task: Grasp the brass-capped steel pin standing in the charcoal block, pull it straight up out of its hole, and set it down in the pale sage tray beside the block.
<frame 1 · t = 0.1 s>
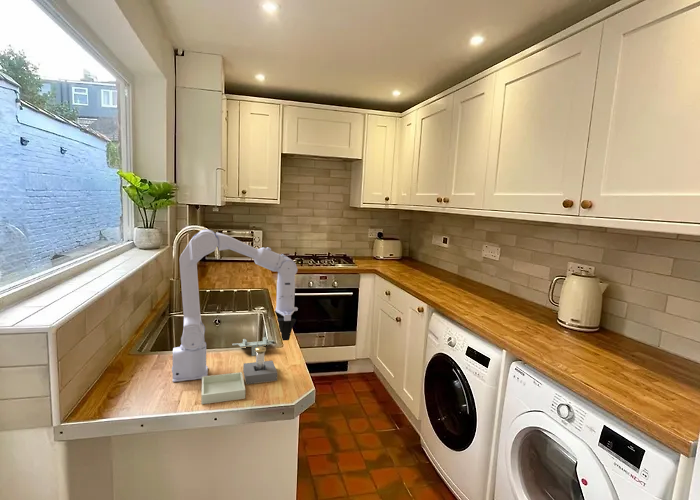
hand: (284, 335, 121), 10 cm above the counter, tool pointing down, fingers open, 7 cm apart
tray: (222, 391, 104), on the counter
pin block: (259, 375, 114), on the counter
steel pin: (260, 362, 114), in the pin block
metal bracket: (254, 350, 135), on the counter
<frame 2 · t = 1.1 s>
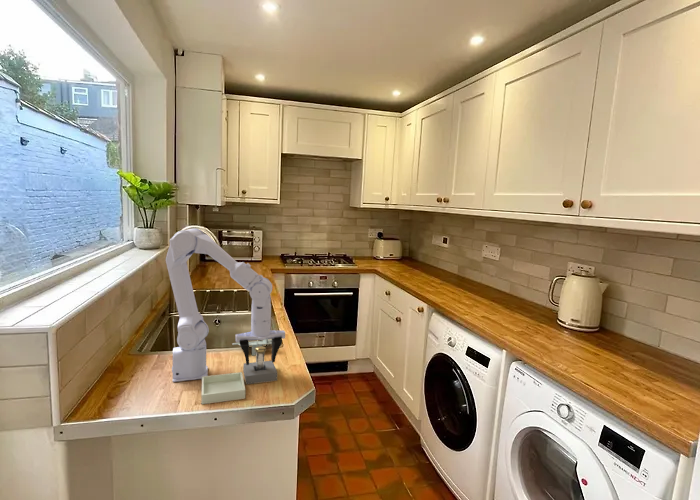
hand: (260, 362, 114), 4 cm above the counter, tool pointing down, fingers open, 7 cm apart
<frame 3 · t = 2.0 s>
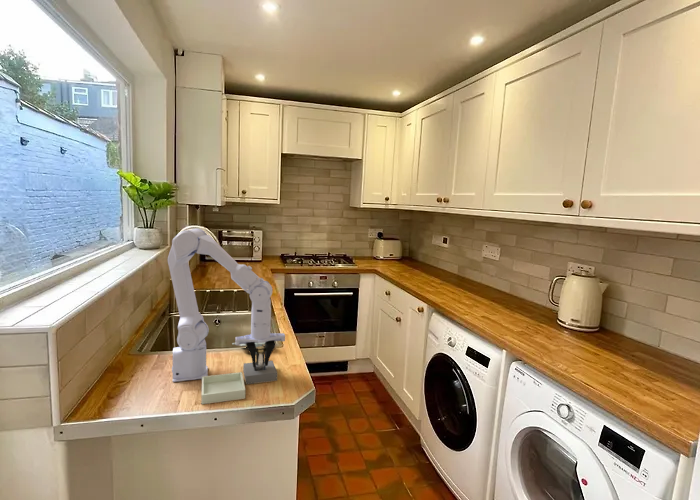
hand: (260, 365, 114), 3 cm above the counter, tool pointing down, fingers closed on steel pin, 3 cm apart
steel pin: (260, 362, 114), in the pin block, touching gripper
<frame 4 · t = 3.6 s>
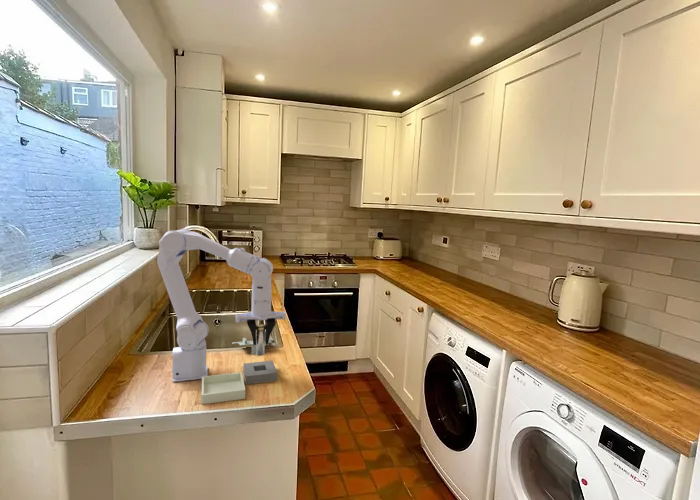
hand: (260, 343, 113), 10 cm above the counter, tool pointing down, fingers closed on steel pin, 3 cm apart
steel pin: (260, 340, 113), point 11 cm above the counter, touching gripper
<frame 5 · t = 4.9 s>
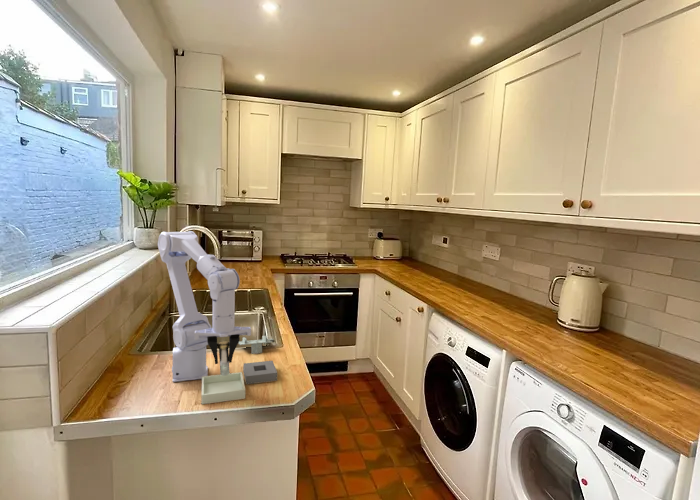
hand: (223, 361, 103), 9 cm above the counter, tool pointing down, fingers closed on steel pin, 3 cm apart
steel pin: (224, 358, 103), point 10 cm above the counter, touching gripper
when the fingers open (6 cm above the counter, at t = 5.6 s): steel pin drops 2 cm, resting on tray.
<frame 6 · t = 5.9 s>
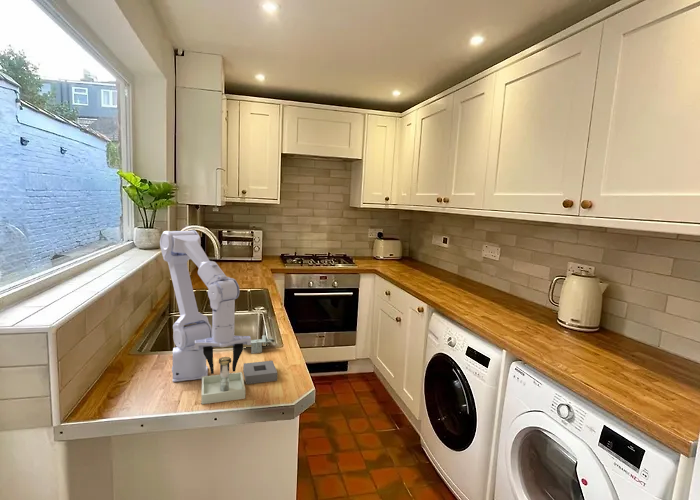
hand: (223, 371, 103), 6 cm above the counter, tool pointing down, fingers open, 5 cm apart
steel pin: (224, 374, 104), in the tray
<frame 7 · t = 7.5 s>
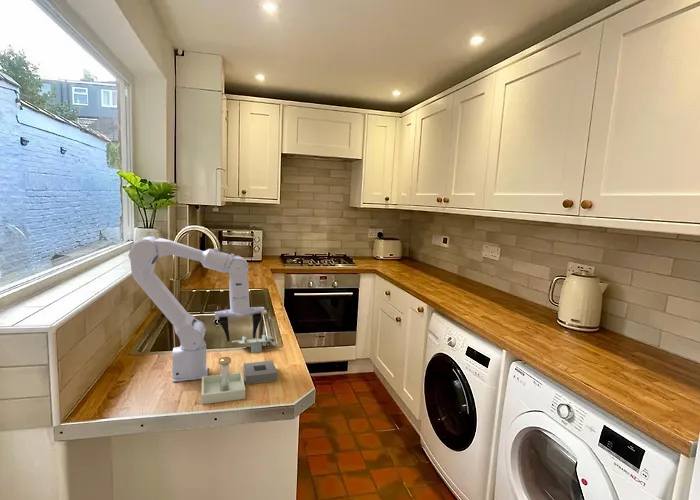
hand: (241, 338, 116), 10 cm above the counter, tool pointing down, fingers open, 7 cm apart
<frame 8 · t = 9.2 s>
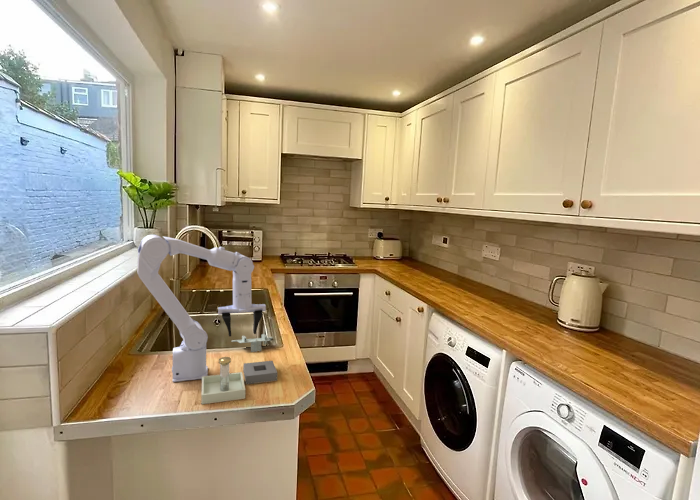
hand: (242, 334, 120), 10 cm above the counter, tool pointing down, fingers open, 7 cm apart
at the end: steel pin inside the target area on the tray (0.4 cm from its centre), point 4.9 cm above the tray's base; the gripper is holding nothing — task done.
